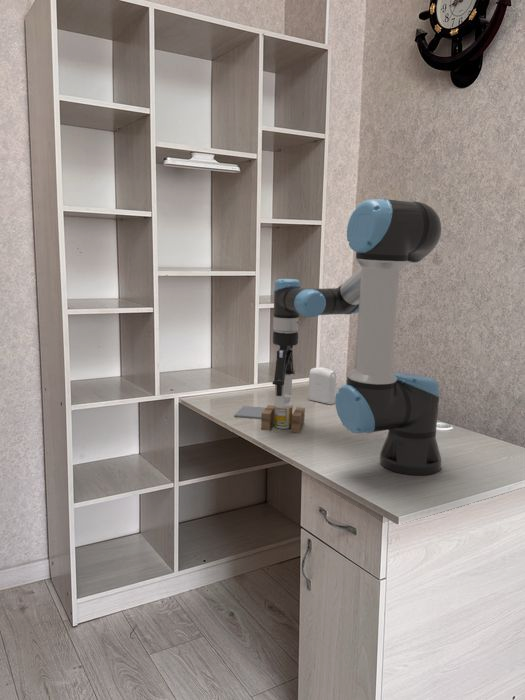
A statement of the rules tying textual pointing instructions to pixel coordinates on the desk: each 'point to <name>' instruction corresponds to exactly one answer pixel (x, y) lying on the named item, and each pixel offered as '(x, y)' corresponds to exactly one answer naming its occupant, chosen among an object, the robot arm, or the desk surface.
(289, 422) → the supplement bottle
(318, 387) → the photo printer
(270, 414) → the brown blocks
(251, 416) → the slate mat
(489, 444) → the desk surface
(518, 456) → the desk surface
